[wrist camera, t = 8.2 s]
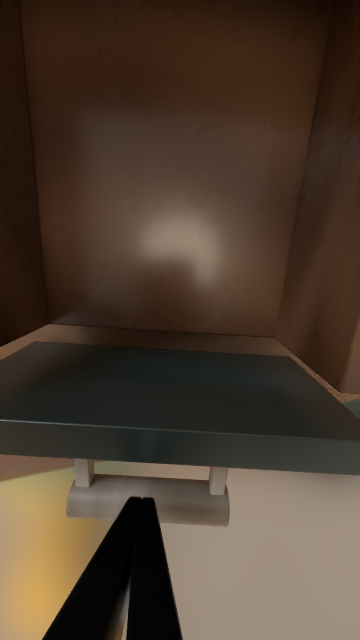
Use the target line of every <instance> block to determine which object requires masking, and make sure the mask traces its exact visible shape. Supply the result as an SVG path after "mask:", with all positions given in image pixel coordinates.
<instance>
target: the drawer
mask: <svg viewBox="0 0 360 640" xmlns="http://www.w3.org/2000/svg"><path fill="white" fill-rule="evenodd" d="M48 324H58V325H74V326H91V327H107V328H123V329H140V330H156V331H172V332H189V333H205V334H221V335H238V336H254V337H270V338H275V339H276V340H278V341H279V342H280V343H281V344H282V345H283V346H285V347H286V348H287V349H288V350H289V351H291V352H292V353H293V354H294V355H295V356H297V357H298V358H299V359H300V360H301V361H303V362H304V363H305V364H306V365H307V366H309V367H310V368H311V369H312V370H313V371H315V372H316V373H317V374H318V375H319V376H321V377H322V378H323V379H324V380H325V381H327V382H328V383H329V384H330V385H331V386H333V387H334V388H335V389H336V390H337V391H339V392H341V393H352V394H360V0H0V347H1V346H3V345H6V344H8V343H10V342H12V341H14V340H16V339H18V338H20V337H23V336H25V335H27V334H29V333H31V332H33V331H35V330H37V329H39V328H42V327H44V326H46V325H48ZM0 454H4V455H21V456H38V457H55V458H73V459H74V473H75V480H74V482H73V484H72V486H71V489H70V492H69V496H68V501H67V508H66V509H67V510H66V512H67V516H68V517H69V518H87V519H103V520H115V519H116V518H117V516H118V514H119V513H120V511H121V509H122V508H123V506H124V504H125V503H126V501H127V500H128V498H129V497H130V496H138V497H141V498H143V497H153V498H154V499H155V503H156V508H157V513H158V518H159V523H173V524H191V525H210V526H228V523H229V515H230V509H229V496H228V491H227V486H226V478H227V471H228V468H244V469H260V470H278V471H295V472H312V473H329V474H346V475H360V420H359V419H358V418H357V417H356V416H355V415H354V414H353V413H352V412H350V411H349V410H348V409H347V408H346V407H345V406H344V405H343V404H342V403H341V402H339V401H338V400H337V399H336V398H335V397H334V396H333V395H332V394H330V393H329V392H328V391H327V390H326V389H325V388H324V387H323V386H322V385H320V384H319V383H318V382H317V381H316V380H315V379H314V378H313V377H312V376H310V375H309V374H308V373H307V372H306V371H305V370H304V369H303V368H301V367H300V366H299V365H298V364H297V363H296V362H295V361H294V360H293V359H291V358H290V357H284V356H267V355H251V354H234V353H218V352H202V351H185V350H169V349H152V348H136V347H120V346H103V345H87V344H70V343H54V342H37V341H35V342H33V343H31V344H29V345H28V346H26V347H24V348H22V349H20V350H18V351H17V352H15V353H13V354H11V355H9V356H7V357H6V358H4V359H2V360H0ZM94 460H107V461H124V462H141V463H159V464H176V465H192V466H209V467H210V474H209V480H192V479H174V478H157V477H141V476H140V477H139V476H123V475H106V474H94Z"/></svg>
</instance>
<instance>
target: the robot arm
mask: <svg viewBox="0 0 360 640" xmlns="http://www.w3.org/2000/svg"><path fill="white" fill-rule="evenodd" d="M128 605H129V607H128ZM127 610H128V622H127V636H126V640H183V638H182V633H181V628H180V623H179V618H178V613H177V608H176V603H175V598H174V593H173V588H172V583H171V578H170V573H169V568H168V563H167V559H166V553H165V548H164V543H163V538H162V533H161V528H160V523H159V518H158V513H157V508H156V503H155V499H154V498H153V497H143V498H141V497H138V496H130V497H129V498H128V500H127V501H126V503H125V504H124V506H123V508H122V509H121V511H120V513H119V514H118V516H117V518H116V519H115V521H114V523H113V524H112V526H111V527H110V529H109V531H108V532H107V534H106V536H105V537H104V539H103V541H102V542H101V544H100V546H99V547H98V549H97V551H96V552H95V554H94V555H93V557H92V559H91V560H90V562H89V563H88V565H87V567H86V568H85V570H84V572H83V573H82V575H81V577H80V578H79V580H78V581H77V583H76V585H75V586H74V588H73V590H72V591H71V593H70V595H69V596H68V598H67V600H66V601H65V603H64V604H63V606H62V608H61V610H60V611H59V613H58V614H57V616H56V618H55V619H54V621H53V622H52V624H51V626H50V627H49V629H48V631H47V632H46V634H45V636H44V637H43V639H42V640H121V638H122V633H123V628H124V624H125V619H126V614H127Z"/></svg>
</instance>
